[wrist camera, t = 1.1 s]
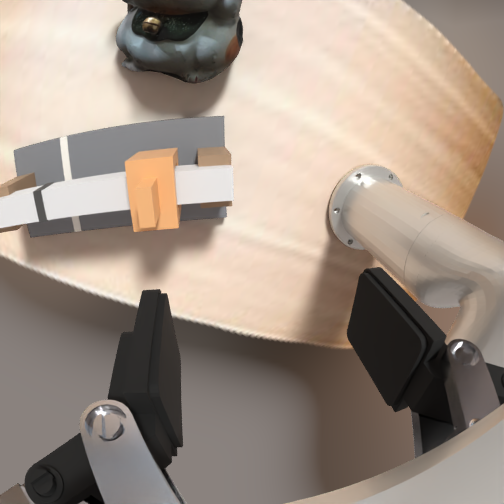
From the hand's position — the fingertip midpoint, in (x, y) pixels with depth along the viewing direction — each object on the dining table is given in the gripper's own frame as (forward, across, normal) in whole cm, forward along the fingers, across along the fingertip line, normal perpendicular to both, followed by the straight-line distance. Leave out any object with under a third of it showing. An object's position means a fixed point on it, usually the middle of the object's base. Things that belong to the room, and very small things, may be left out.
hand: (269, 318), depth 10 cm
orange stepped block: (+23, +6, 0) cm, 24 cm away
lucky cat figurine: (+28, +4, -18) cm, 33 cm away
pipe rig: (+28, +12, 0) cm, 30 cm away
